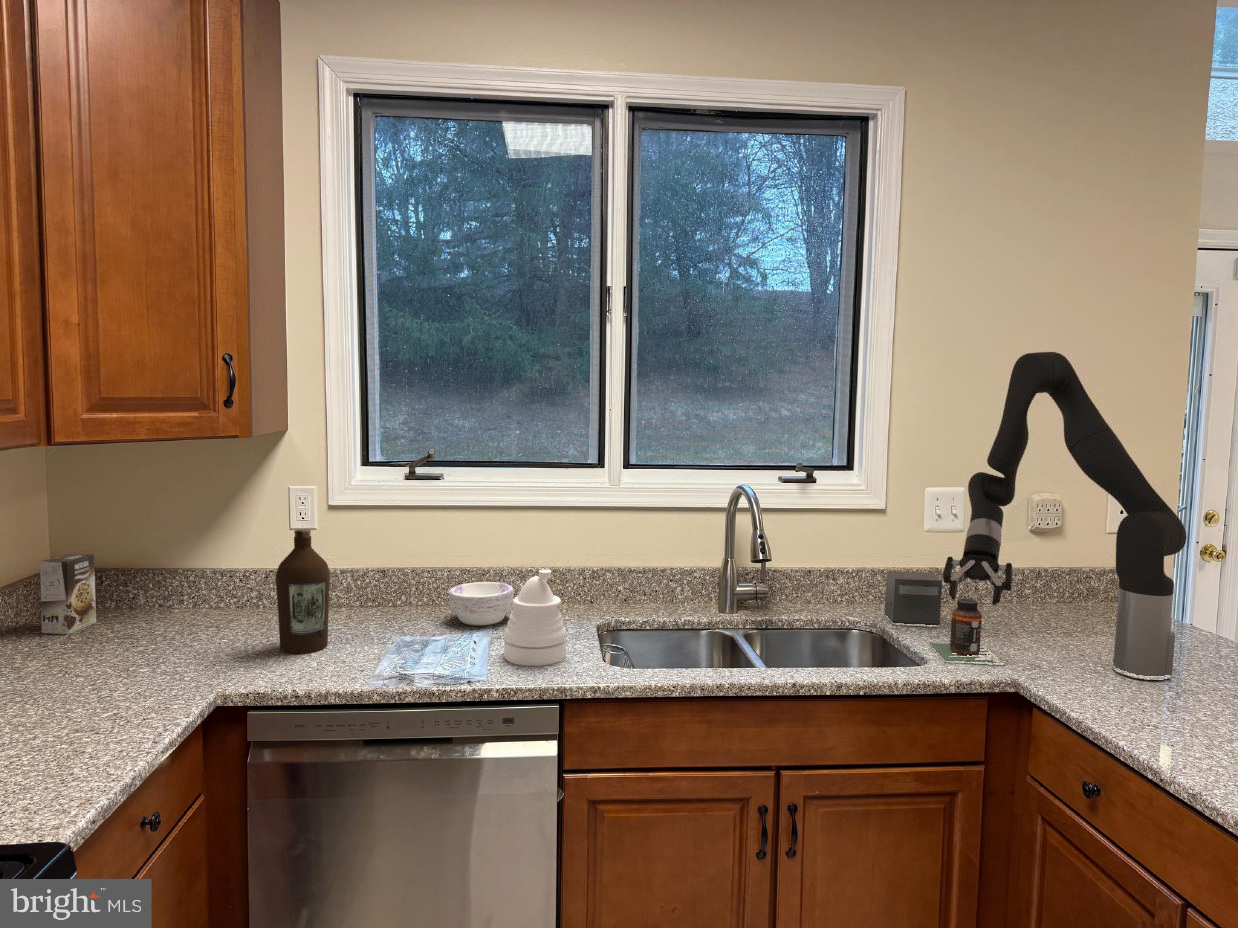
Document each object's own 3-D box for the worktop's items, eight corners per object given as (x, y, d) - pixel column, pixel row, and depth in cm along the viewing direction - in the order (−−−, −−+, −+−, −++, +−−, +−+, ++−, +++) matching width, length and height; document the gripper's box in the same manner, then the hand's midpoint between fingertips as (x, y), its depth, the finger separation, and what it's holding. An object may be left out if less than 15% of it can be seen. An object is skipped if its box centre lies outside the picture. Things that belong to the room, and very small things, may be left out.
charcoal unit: (928, 616, 203) (931, 572, 202) (940, 628, 193) (943, 581, 192) (884, 614, 204) (886, 570, 203) (893, 625, 194) (895, 579, 193)
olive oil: (272, 644, 171) (270, 528, 169) (324, 636, 177) (322, 524, 175) (282, 658, 162) (280, 536, 160) (336, 649, 168) (335, 531, 166)
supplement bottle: (982, 657, 169) (985, 604, 168) (952, 655, 171) (955, 602, 170) (976, 649, 175) (979, 598, 174) (947, 646, 176) (950, 596, 176)
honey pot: (574, 649, 172) (575, 566, 170) (553, 668, 159) (554, 579, 158) (518, 643, 175) (519, 561, 173) (493, 661, 163) (494, 574, 161)
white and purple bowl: (443, 615, 196) (443, 583, 195) (504, 609, 202) (504, 578, 201) (455, 632, 182) (456, 598, 181) (520, 626, 188) (521, 593, 187)
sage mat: (984, 648, 178) (984, 645, 178) (1004, 665, 166) (1004, 663, 166) (928, 645, 179) (929, 642, 179) (944, 662, 167) (944, 659, 167)
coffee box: (70, 634, 175) (67, 561, 173) (40, 633, 175) (37, 560, 173) (98, 622, 184) (95, 553, 182) (70, 622, 184) (67, 552, 183)
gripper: (949, 529, 190) (938, 586, 181) (1016, 535, 182) (1008, 595, 173) (951, 548, 195) (941, 605, 186) (1017, 555, 187) (1009, 614, 178)
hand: (973, 600), depth 180 cm, fingers open, 8 cm apart
